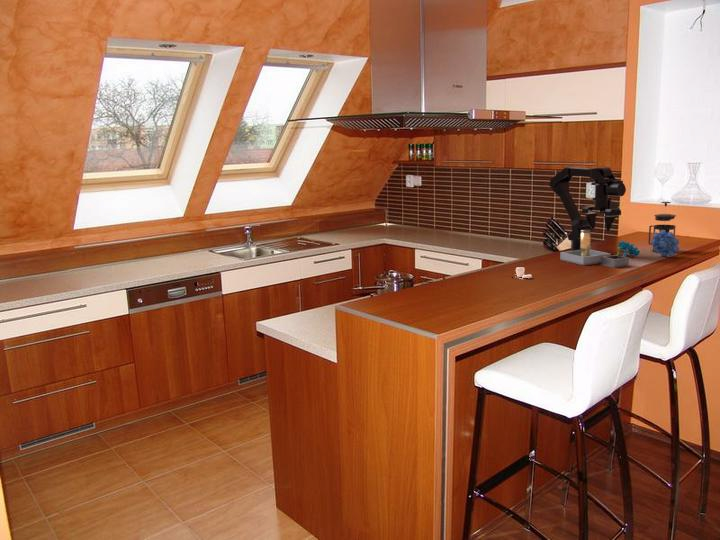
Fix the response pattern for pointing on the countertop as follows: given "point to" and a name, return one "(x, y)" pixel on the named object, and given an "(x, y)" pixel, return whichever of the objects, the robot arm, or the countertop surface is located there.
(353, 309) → the countertop surface
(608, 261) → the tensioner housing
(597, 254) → the tray
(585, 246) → the capped labeled canister
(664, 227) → the french press
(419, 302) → the countertop surface
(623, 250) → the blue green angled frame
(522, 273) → the teacup and saucer
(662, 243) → the grapes
